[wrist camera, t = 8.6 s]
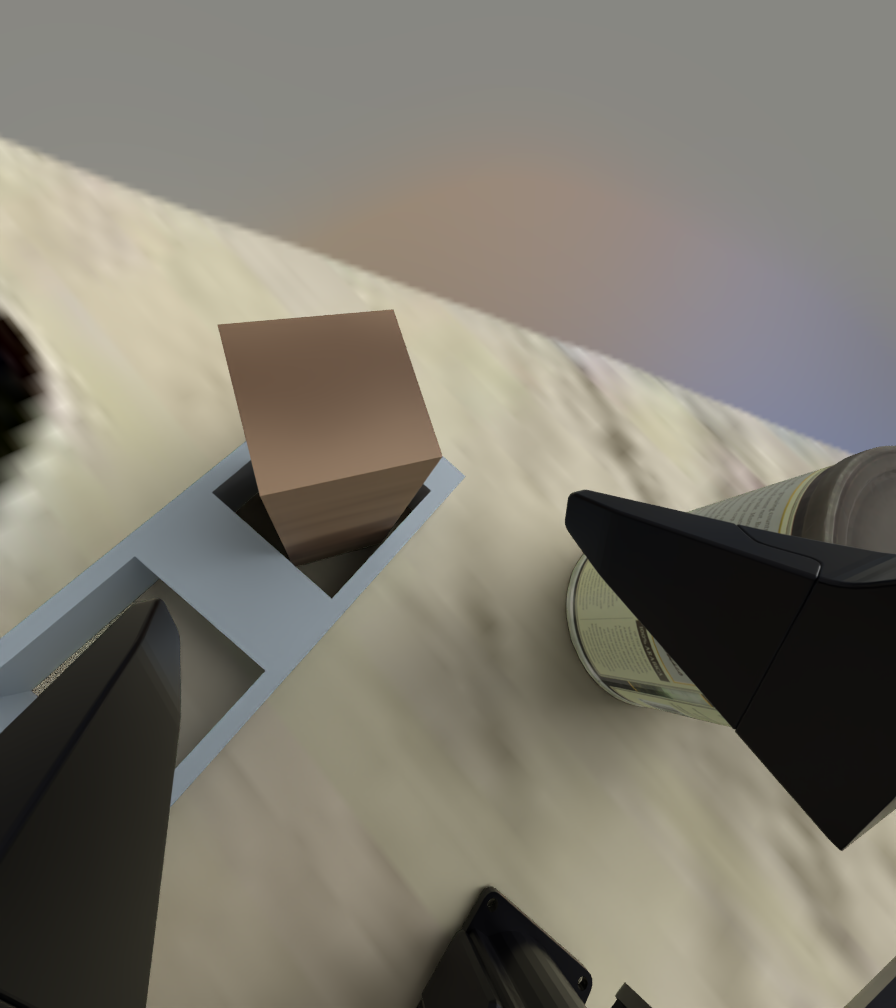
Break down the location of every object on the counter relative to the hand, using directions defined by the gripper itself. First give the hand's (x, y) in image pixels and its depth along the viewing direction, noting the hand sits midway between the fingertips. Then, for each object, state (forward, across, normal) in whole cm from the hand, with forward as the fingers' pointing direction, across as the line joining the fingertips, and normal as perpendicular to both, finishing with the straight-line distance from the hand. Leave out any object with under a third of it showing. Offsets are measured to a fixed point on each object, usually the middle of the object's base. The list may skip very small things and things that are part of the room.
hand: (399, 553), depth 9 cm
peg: (+13, 0, +6) cm, 14 cm away
